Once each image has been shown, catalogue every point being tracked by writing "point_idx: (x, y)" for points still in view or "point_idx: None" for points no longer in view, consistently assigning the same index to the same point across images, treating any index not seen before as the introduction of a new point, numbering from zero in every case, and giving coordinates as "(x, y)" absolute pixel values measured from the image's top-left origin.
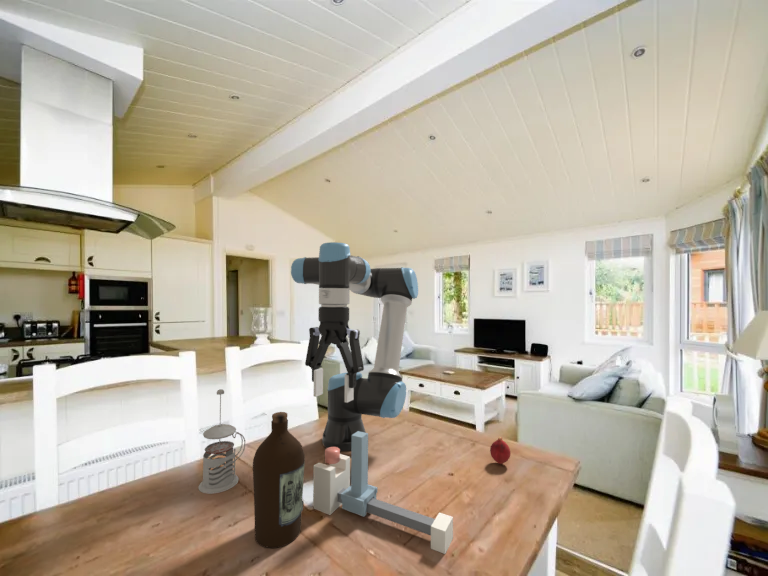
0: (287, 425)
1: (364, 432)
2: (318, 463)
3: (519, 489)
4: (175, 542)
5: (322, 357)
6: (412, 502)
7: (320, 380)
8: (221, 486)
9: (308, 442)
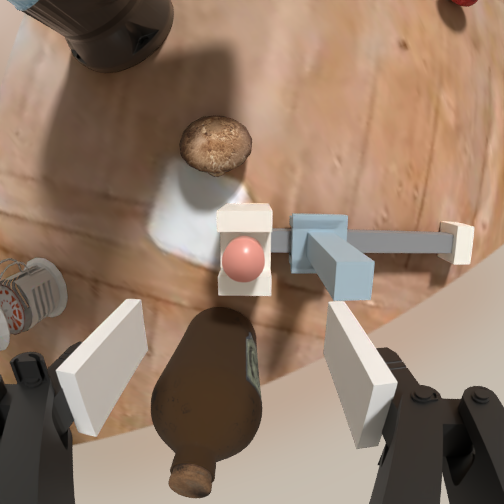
0: (211, 461)
1: (361, 262)
2: (221, 281)
3: (494, 67)
4: (127, 397)
5: (51, 463)
6: (383, 162)
7: (114, 356)
8: (58, 301)
9: (57, 81)
